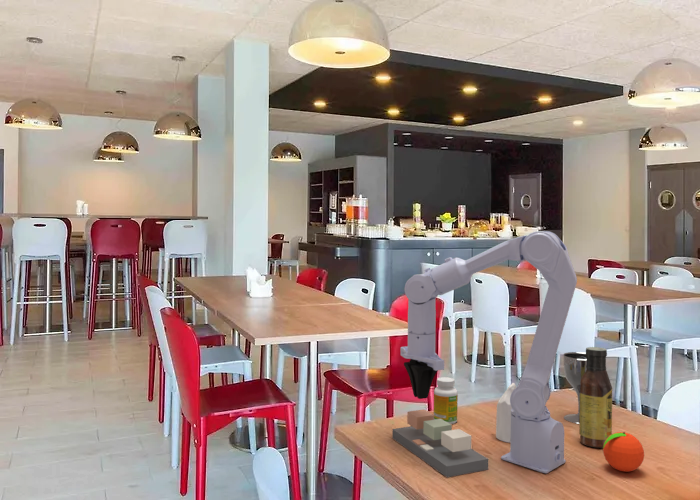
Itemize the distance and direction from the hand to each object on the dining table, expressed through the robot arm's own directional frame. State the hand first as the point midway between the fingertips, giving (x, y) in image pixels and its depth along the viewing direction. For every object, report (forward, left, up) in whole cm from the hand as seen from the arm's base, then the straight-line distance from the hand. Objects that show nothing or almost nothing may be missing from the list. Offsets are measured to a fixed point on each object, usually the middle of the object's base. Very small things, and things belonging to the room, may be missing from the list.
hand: (420, 397), depth 122 cm
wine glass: (-17, -39, -10) cm, 43 cm away
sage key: (-6, +2, -6) cm, 9 cm away
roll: (-12, -16, -10) cm, 22 cm away
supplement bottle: (+4, -15, -10) cm, 18 cm away
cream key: (-12, +5, -6) cm, 14 cm away
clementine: (-35, -16, -10) cm, 39 cm away
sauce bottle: (-26, -26, -10) cm, 38 cm away
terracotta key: (0, 0, -6) cm, 6 cm away
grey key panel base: (-6, +2, -9) cm, 11 cm away
